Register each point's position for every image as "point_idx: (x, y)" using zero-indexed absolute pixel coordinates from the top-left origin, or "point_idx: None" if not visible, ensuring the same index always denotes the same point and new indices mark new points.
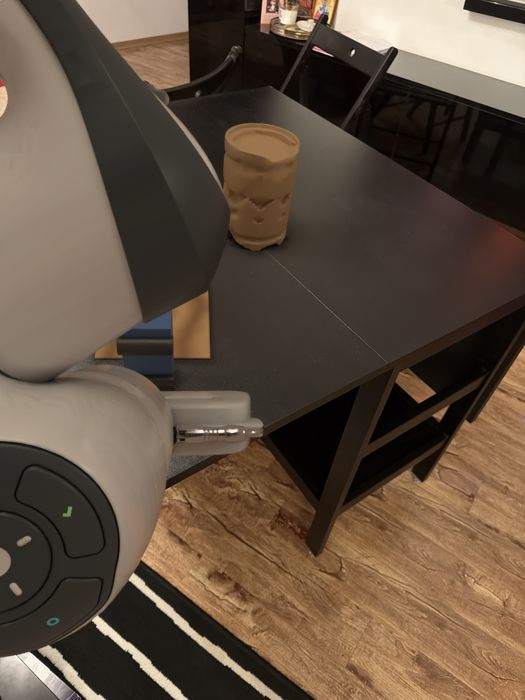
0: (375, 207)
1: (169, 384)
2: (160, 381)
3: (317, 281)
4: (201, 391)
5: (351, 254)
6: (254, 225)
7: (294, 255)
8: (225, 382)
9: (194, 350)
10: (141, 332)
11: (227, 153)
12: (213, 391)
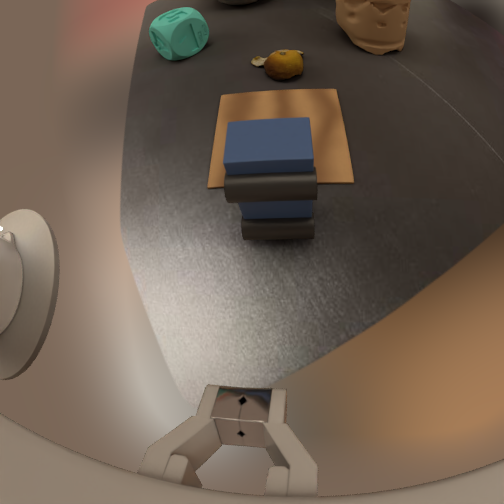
0: (468, 34)
1: (307, 232)
2: (294, 228)
3: (449, 91)
4: (465, 501)
5: (468, 70)
6: (377, 28)
7: (418, 62)
8: (377, 219)
9: (332, 171)
10: (263, 166)
11: None
12: (493, 491)
